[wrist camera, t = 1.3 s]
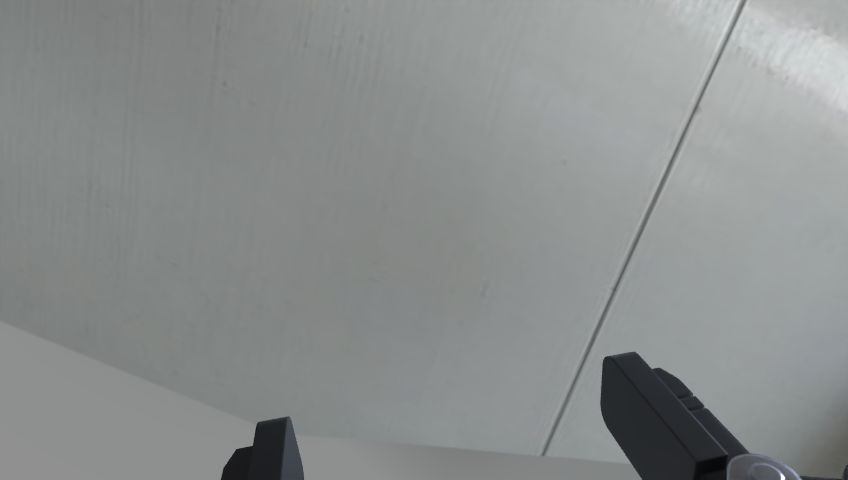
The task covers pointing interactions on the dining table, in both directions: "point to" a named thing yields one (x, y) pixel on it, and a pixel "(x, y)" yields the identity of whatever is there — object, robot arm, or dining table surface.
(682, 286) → the dining table surface
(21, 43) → the dining table surface
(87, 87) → the dining table surface
